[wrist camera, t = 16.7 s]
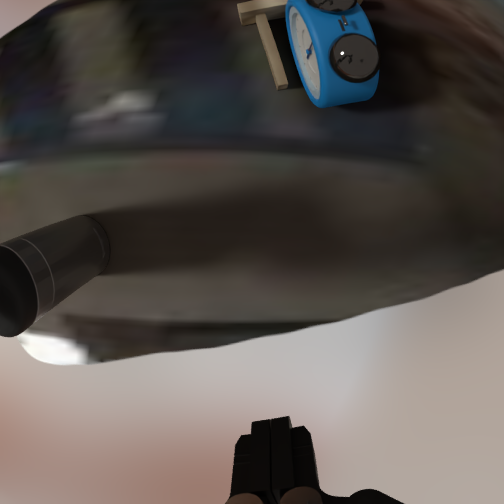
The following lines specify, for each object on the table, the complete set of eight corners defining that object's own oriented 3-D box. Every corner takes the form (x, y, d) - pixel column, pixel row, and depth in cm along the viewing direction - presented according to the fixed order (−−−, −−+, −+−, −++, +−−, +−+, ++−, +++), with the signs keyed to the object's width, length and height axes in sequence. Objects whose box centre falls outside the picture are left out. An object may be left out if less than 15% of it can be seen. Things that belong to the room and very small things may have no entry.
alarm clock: (281, 27, 33) (288, -34, 19) (326, 20, 33) (352, -39, 18) (311, 117, 37) (337, 90, 22) (357, 108, 36) (404, 81, 22)
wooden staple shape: (263, 93, 36) (263, 86, 32) (239, 17, 33) (237, 4, 29) (381, 73, 34) (392, 65, 31) (353, 0, 32) (361, -13, 28)
